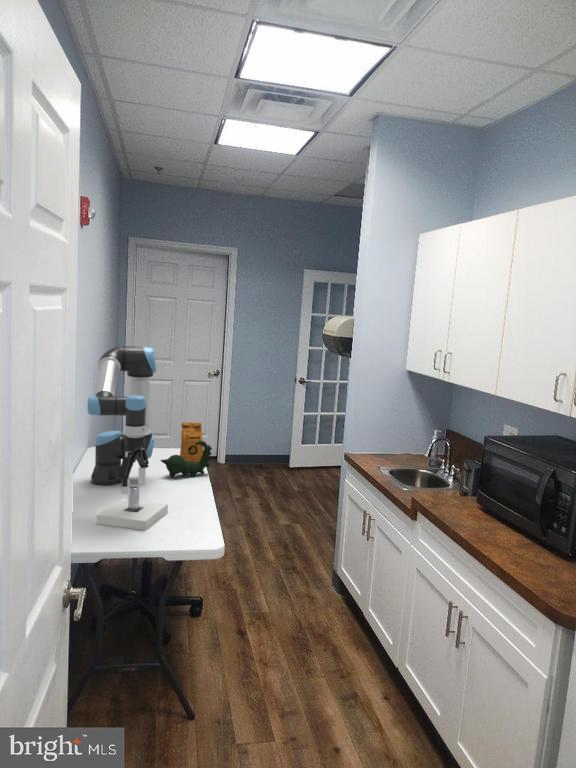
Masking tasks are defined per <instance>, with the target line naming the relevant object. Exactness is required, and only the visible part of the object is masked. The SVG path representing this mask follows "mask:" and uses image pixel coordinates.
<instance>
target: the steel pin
mask: <svg viewBox="0 0 576 768" xmlns="http://www.w3.org/2000/svg"><path fill="white" fill-rule="evenodd" d="M127 499H128V511H129V512H139V500H140V487H139V486H130V492H129V495H128V498H127Z"/></svg>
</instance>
